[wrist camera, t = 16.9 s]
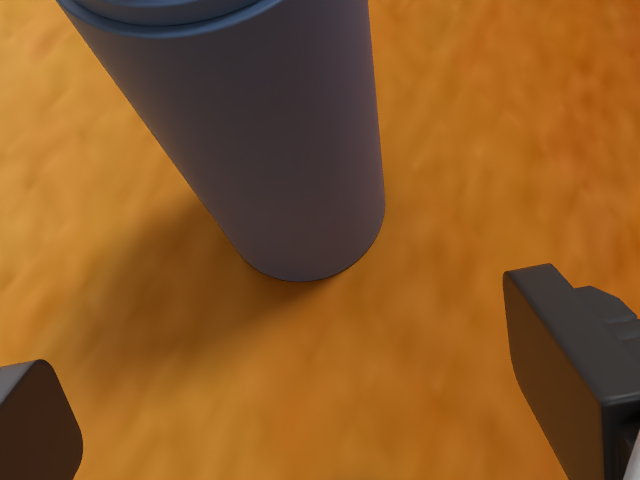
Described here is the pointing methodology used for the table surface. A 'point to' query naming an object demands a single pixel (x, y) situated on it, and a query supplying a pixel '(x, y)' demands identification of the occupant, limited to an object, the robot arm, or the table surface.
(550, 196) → the table surface
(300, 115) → the water bottle
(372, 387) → the table surface
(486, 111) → the table surface
